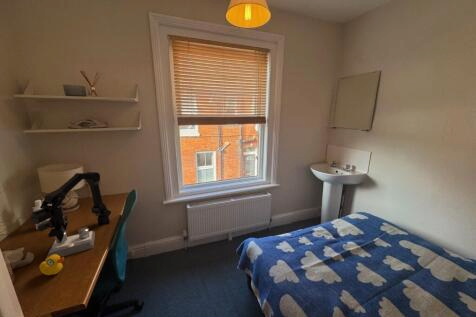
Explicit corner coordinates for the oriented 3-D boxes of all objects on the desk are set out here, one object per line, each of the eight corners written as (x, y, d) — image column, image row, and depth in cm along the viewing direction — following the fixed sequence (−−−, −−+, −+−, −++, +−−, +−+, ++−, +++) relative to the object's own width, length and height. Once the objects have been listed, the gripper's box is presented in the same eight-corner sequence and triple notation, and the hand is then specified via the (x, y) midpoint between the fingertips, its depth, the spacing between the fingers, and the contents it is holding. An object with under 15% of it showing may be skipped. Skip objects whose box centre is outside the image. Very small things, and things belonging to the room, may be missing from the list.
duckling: (70, 268, 101) (67, 251, 99) (62, 276, 96) (58, 259, 94) (47, 269, 101) (43, 252, 98) (37, 277, 95) (33, 259, 93)
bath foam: (47, 228, 136) (42, 201, 132) (34, 231, 133) (28, 203, 129) (51, 223, 142) (46, 197, 138) (39, 225, 139) (33, 199, 135)
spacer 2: (89, 233, 125) (88, 226, 124) (89, 237, 121) (88, 230, 120) (80, 236, 123) (78, 229, 122) (79, 240, 119) (77, 233, 118)
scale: (94, 234, 130) (93, 228, 129) (93, 248, 117) (91, 241, 116) (54, 244, 120) (53, 237, 119) (47, 260, 106) (45, 253, 105)
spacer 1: (68, 237, 120) (66, 229, 119) (66, 241, 116) (65, 233, 114) (57, 239, 117) (55, 232, 116) (55, 244, 113) (53, 236, 112)
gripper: (42, 211, 116) (47, 235, 120) (31, 226, 101) (38, 253, 104) (66, 207, 122) (71, 229, 125) (60, 220, 107) (65, 246, 110)
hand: (61, 238), depth 116 cm, fingers closed on spacer 1, 5 cm apart
